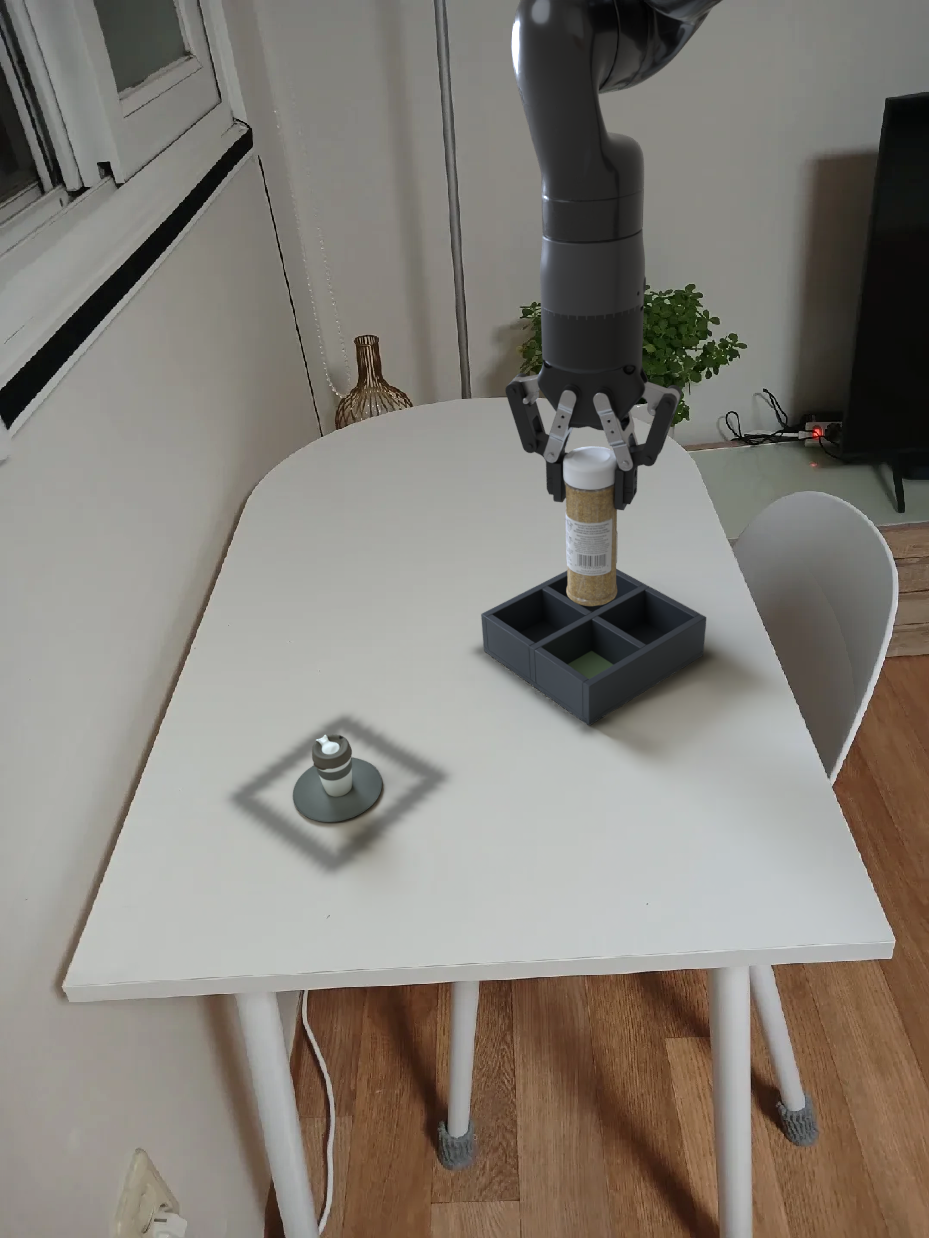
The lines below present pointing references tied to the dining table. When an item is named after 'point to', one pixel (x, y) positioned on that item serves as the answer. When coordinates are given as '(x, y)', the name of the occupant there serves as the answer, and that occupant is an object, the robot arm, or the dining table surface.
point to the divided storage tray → (593, 643)
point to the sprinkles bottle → (591, 525)
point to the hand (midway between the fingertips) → (591, 500)
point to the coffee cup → (336, 782)
